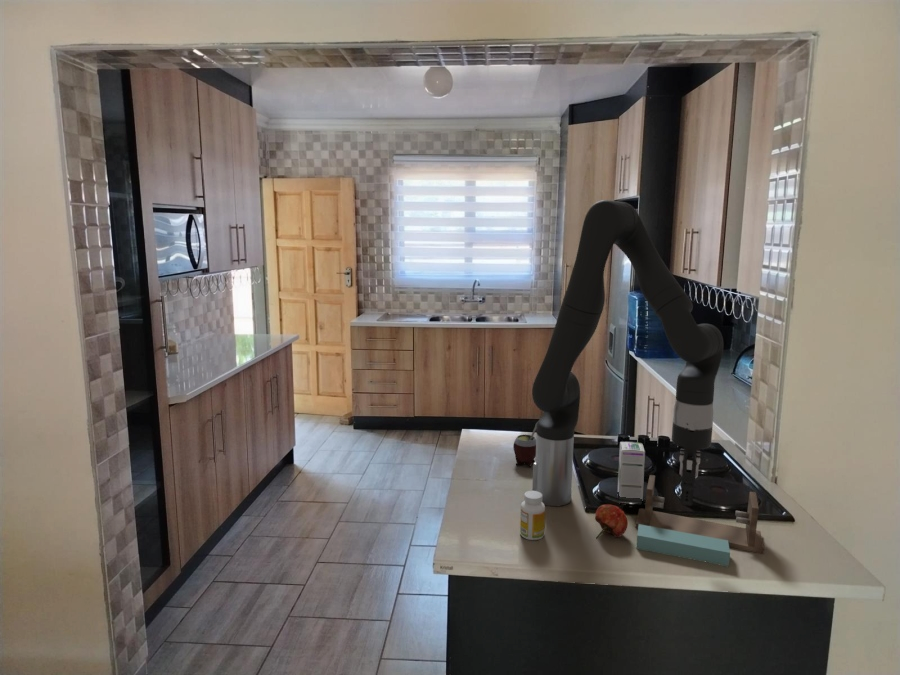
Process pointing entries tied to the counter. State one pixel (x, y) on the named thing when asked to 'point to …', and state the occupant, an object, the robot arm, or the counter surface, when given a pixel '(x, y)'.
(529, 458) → the mate gourd
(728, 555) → the teal rectangular block
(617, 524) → the red mushroom
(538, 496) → the supplement bottle
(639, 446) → the syrup box
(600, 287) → the robot arm
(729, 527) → the rack
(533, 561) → the counter surface
